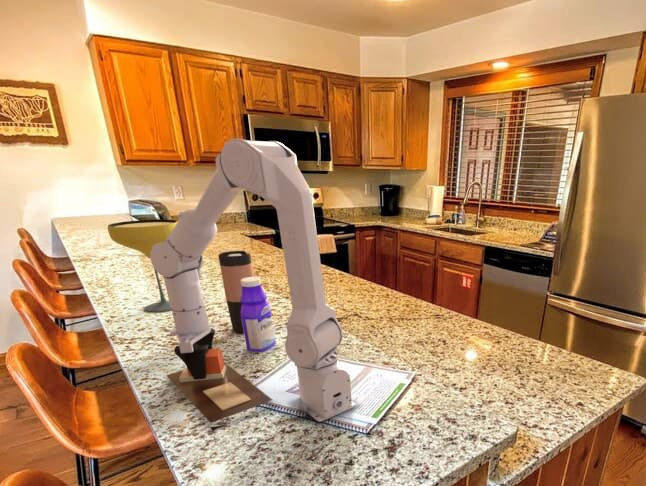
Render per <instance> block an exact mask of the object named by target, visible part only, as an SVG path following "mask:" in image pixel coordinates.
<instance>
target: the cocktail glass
mask: <svg viewBox="0 0 646 486" xmlns="http://www.w3.org/2000/svg"><path fill="white" fill-rule="evenodd" d="M178 221H179V220H175V219H162V218H161V219H140V220H139V219H138V220H127V221H119V222H114V223H109V224H108V225H107V232H108V235H109V238H110V240H112V241H113V242H115V243H116V244H118V245H120V246H123V247H126V248H128V249H131V250H135V251H137V252H140V253H142V254H143V255H144V256H145V257H147V258H148V259H149V260H151V258H150V254H151V250H152V246H153V245H154V244H157V243H163V242H164V241H166V240H167V235H168V234H169V233H170V232H172V230H173V229H174V227H175V225H176V224H177V222H178ZM153 269H154V270H153V271H154V274H155V277H156V281H157V287H158V290H159V296H160V301H158V302H154V303H151V304H148V305H146V306H145V307H144V310H145V311H146V312H149V313H163V312H170V311H172V310H171V306H170V302H169V300H167V299H166V296H165V295H164V291H163V288H162V284H161V280H160V276H159V273H158V272H157V271H156V270H155V268H154V267H153Z"/></svg>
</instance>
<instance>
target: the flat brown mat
mask: <svg viewBox="0 0 646 486" xmlns="http://www.w3.org/2000/svg"><path fill="white" fill-rule="evenodd" d="M224 365H226V371H225V374H224V377H223V378H219V379H210V380H200V381H190V382H180V381H179V377H180V375H181V373H182V372H183V370H179V371H176V372H172V373H169V374H166V377H167V378H168V379H169V380H170V381H171V382H172V383H173V385H175V386H176V388H177V389H178V390H179V391H180V393H182V394H183V395H184V396H185V398H187V399H188V401H190V403H192V405H193V406H194V407H195V408H196V409H197V410H198V411H199V412H200V413H201V414H202V415H203V417H204V418H206V419H207V420H208V422H209V423H210V424H212V423H215V422H218V421H221V420H223V419H226V418H229V417H231V416H233V415H236V414H240V413H242V412H244V411H246V410H249V409H252V408H254V407H258V406H260V405H263V404H265V403H268V402H271V401H273V398H271V397H270V396H269V395H267V394H266V393H265V392H263V391H262V390H261V389H260V388H258V387H257V386H256V385H254V384H253V383H252V382H250V381H249V380H248V379H247V378H245V377H244V376H242V375H241V374H240V372H239V373H238V372H237V371H236V370H235V369H234V368H232V367H231V366H230V365H229V364H227V363H226V362H224ZM222 427H226V424H223V425H216V426H210V427H209V428H210V429H211V431H215V430H218V429H220V428H222Z"/></svg>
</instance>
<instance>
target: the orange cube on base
mask: <svg viewBox="0 0 646 486" xmlns="http://www.w3.org/2000/svg"><path fill="white" fill-rule="evenodd" d="M222 351H223V350H222V348H221V347H219V348H218V347H217V348H212V349H208V351H207V354H206V378H205V379H197V380H194V378H193V377H192V375H191V373H190V371H189V369H188V368H187V367H186V368H183V370H182V371H183V372H182V373H181V375H180V377H179V381H180V382H190V381H200V380H210V379H219V378H223V377H224V374H225V371H226V365H224V363H225V361H224V356H223V352H222Z"/></svg>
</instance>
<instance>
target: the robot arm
mask: <svg viewBox="0 0 646 486" xmlns="http://www.w3.org/2000/svg"><path fill="white" fill-rule="evenodd" d="M221 149H222V150H221V152H220V153H219V154H218V155H217V156H216V157H215V166H216V169H215V171H214V173H213V175H212V176H211V178H210V180H209V183H208V184H207V186H206V188H205V190H204V192H203V194H202V196H201V198H200V199H199V201H198V203H197V205H196V207H195V209H192V208H191V209H186V210H184V211H180V212H179V213H178V215H177V219H178V220H177V221H178V222H177V224H176V225H175V227H174V229H173V230H172V232H170V233H169V234H168V235H167V240H166V241H164V242H163V243H157V244H154V245H153V246H152V250H151V254H150V258H151V259H150V258H149V259H150V261H151V264H152V267H153V269H154V268H155V270H156V271H157V273H158V275H160V276H162V279H163V282H164V285H165V290H166V293H167V296H168V297H167V298H168V301H169V302H170V306H171V310H170V311H171V313H172V314H171V315H172V318H173V322H174V326H175V328H172V329H171V330H170V331H169V335H170V336H173V337H174V336H176V338H177V340H178V345H176V346H175V347H174V349H173V350H174V353H175V355H176V356H177V357H178V358H180V360H181V361H182V362H183V363H184V364H185V367H186V368H188V369H189V371H190V373H191V375H192V377H193V378H194V380H197V379H205V378H206V354H207V351H208V349H213V341H214V337H215V333H216V330H215V329H214V328H212V327H211V325H210V324H209V319H208V314H207V309H206V305H205V304H206V303H205V300H204V295H203V291H202V290H203V289H202V286H201V278H202V273H201V269H202V267H203V263H204V256H203V254H204V252H205V251H206V249H207V248H208V246H209V245H210V243H212V240H213V239H214V238H215V237H216V235H217V234H218V227H217V224H216V222H217V221H218V220H219V219H220V217H222V215H223V213H225V211H226V210H227V209H228V208H229V206H230V205H231V204H232V203H233V202H234V201H235V199H236V198H237V196H239V194H240V193H241V192H244V191H246V192H250V193H252V194H255V195H257V196H260V197H261V198H263V199H264V200H265V201H266V202H267V203H269V204H270V205H271V206H272V207H274V208H275V210H276V215H277V222H278V227H279V234H280V240H281V247H282V252H283V259H284V265H285V270H286V277H287V283H288V289H289V295H290V302H291V308H292V309H291V312H290V315H289V317H288V319H287V322H286V325H285V327H286V338H285V341H284V349H285V352H286V355H287V357H288V358H289V360H290V361H291V362H292V363H293V364H294V366H295V367H296V369H297V370H296V371H297V379H298V388H299V396H300V401H301V403H302V404H304V405H306V414H307V415H308V416H310V417H311V418H312V419H314V420H315V421H316V422H319V423H320V422H323V421H326V420H329V419H331V418H332V417H335V416H337V415H339V414H342V413H344V412H346V411H348V410H351V409H352V408H355V407H356V406H357V404H356V402H354V401H353V400H352V386H351V385H352V384H351V377H350V374H349V373H348V372H347V371H346V370H345V369H344V368H343V367H342V365H341V363H340V361H339V355H338V353H339V350H338V348H339V347H338V346H340V345H341V343H342V341H343V338H344V332H343V328H342V326H341V324H340V323H339V321H338V319H337V314H336V313H337V312H336V309H334V308H333V307H331V306H329V305H328V304H327V303H326V296H325V294H326V293H325V287H324V279H323V270H322V263H321V255H320V250H319V249H320V248H319V247H320V246H319V240H318V232H317V225H316V218H315V209H314V201H313V195H312V191H311V189H310V186H309V184H308V183H307V181H306V179H305V177H304V175H303V174H302V172H301V170H300V168H299V167H298V159H297V155H296V153H294V152H293V151H292V150H291V149H290V148H288V147H287V146H285V145H284V144H283V143H281V142H279V141H276V140H268V141H264V140H263V141H262V140H250V139H249V140H248V139H244V138H238V137H237V138H232V139H229V140H228V141H226V143H224V145H223V147H222V148H221ZM155 270H154V271H155Z"/></svg>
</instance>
